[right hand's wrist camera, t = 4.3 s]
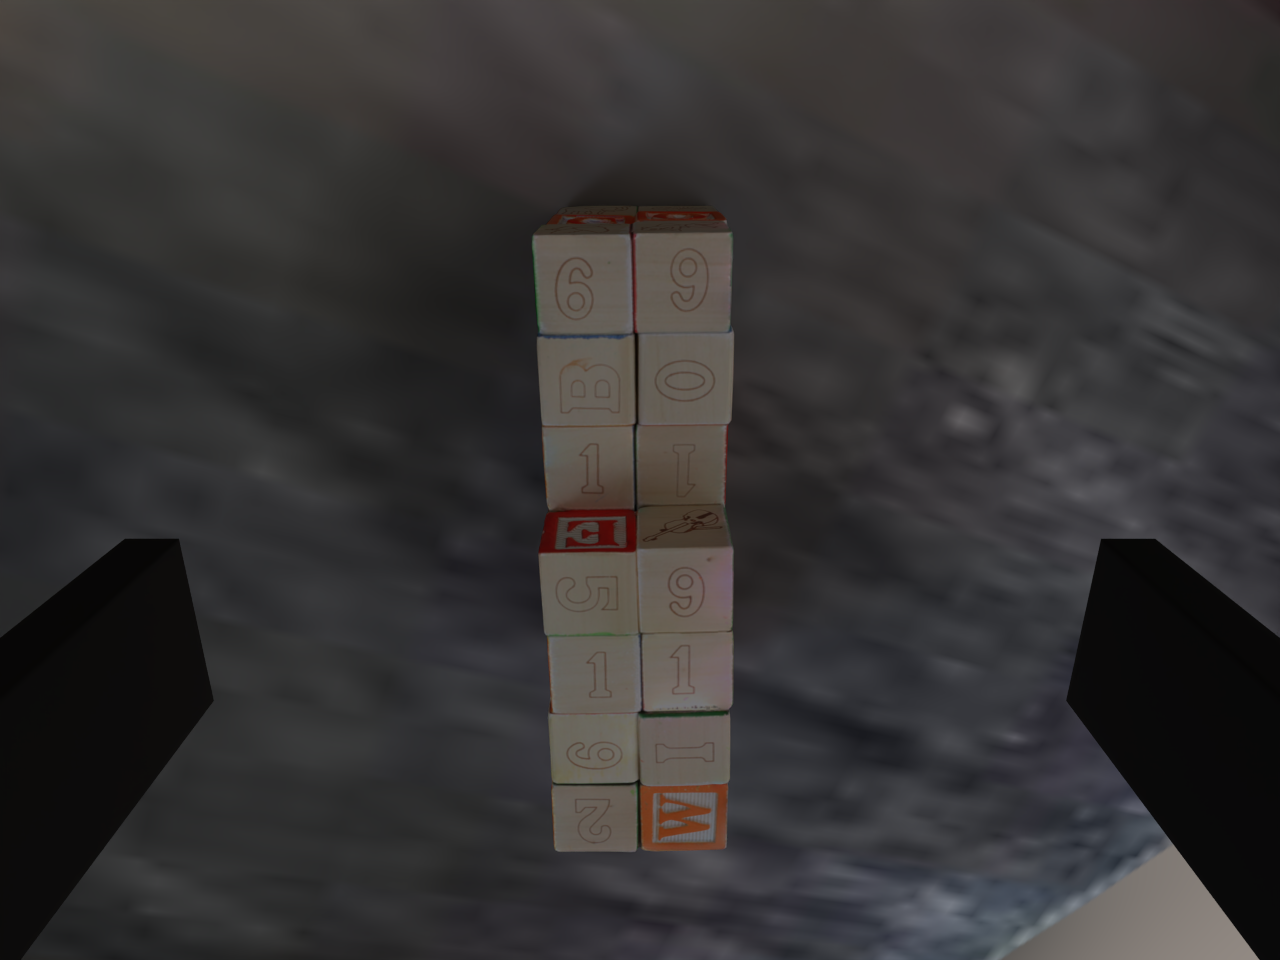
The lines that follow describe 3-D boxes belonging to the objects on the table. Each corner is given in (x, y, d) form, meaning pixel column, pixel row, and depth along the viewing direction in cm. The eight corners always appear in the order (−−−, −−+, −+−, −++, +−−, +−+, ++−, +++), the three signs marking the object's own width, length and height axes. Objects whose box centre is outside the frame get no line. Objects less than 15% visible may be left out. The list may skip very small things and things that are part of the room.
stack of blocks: (556, 203, 35) (517, 242, 23) (715, 202, 35) (754, 241, 23) (574, 662, 43) (551, 859, 31) (702, 661, 43) (727, 858, 31)
